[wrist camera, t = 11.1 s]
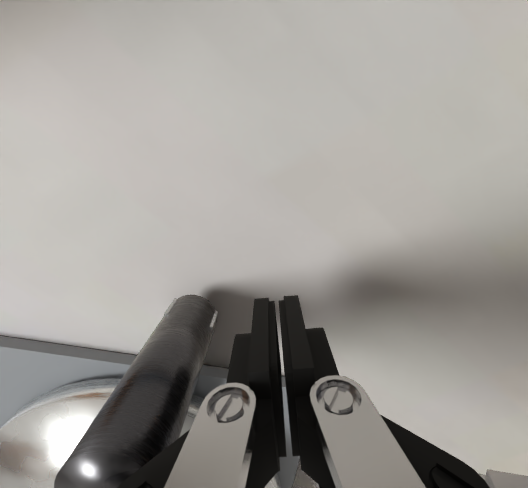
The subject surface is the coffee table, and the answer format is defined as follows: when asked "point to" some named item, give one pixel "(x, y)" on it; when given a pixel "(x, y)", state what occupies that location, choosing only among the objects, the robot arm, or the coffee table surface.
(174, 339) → the turntable
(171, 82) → the coffee table surface
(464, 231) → the coffee table surface
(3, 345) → the plinth
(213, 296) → the coffee table surface
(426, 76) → the coffee table surface
